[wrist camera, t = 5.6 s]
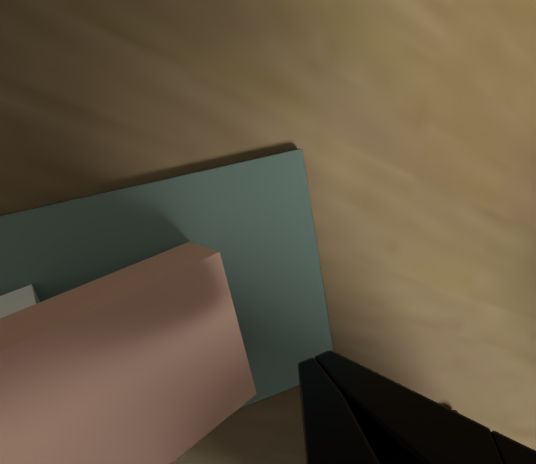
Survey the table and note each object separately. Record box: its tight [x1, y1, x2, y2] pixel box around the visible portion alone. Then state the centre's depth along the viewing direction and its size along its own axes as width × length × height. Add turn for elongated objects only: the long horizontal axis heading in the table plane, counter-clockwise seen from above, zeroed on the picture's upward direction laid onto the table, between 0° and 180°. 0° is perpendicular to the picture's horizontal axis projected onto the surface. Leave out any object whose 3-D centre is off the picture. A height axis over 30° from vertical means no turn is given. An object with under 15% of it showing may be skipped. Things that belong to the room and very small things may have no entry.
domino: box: [0, 242, 257, 464], centre depth 8 cm, size 5×2×8 cm
